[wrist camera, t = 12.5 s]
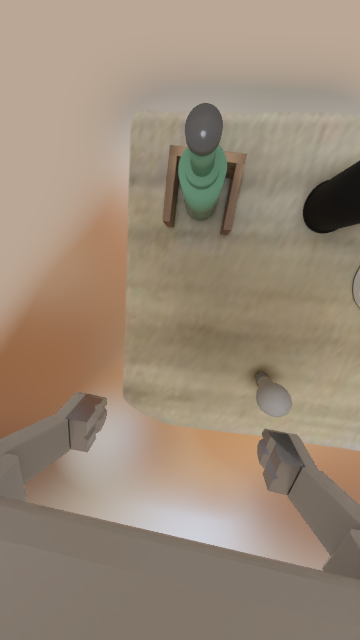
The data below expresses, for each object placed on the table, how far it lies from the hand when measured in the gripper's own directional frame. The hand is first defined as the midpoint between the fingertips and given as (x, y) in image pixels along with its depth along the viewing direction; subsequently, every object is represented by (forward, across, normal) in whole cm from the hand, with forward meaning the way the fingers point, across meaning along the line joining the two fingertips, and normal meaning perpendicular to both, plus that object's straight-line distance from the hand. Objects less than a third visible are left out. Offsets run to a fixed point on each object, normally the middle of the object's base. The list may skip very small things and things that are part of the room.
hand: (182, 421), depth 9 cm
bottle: (+31, +2, -18) cm, 36 cm away
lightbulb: (+31, -18, +15) cm, 39 cm away
